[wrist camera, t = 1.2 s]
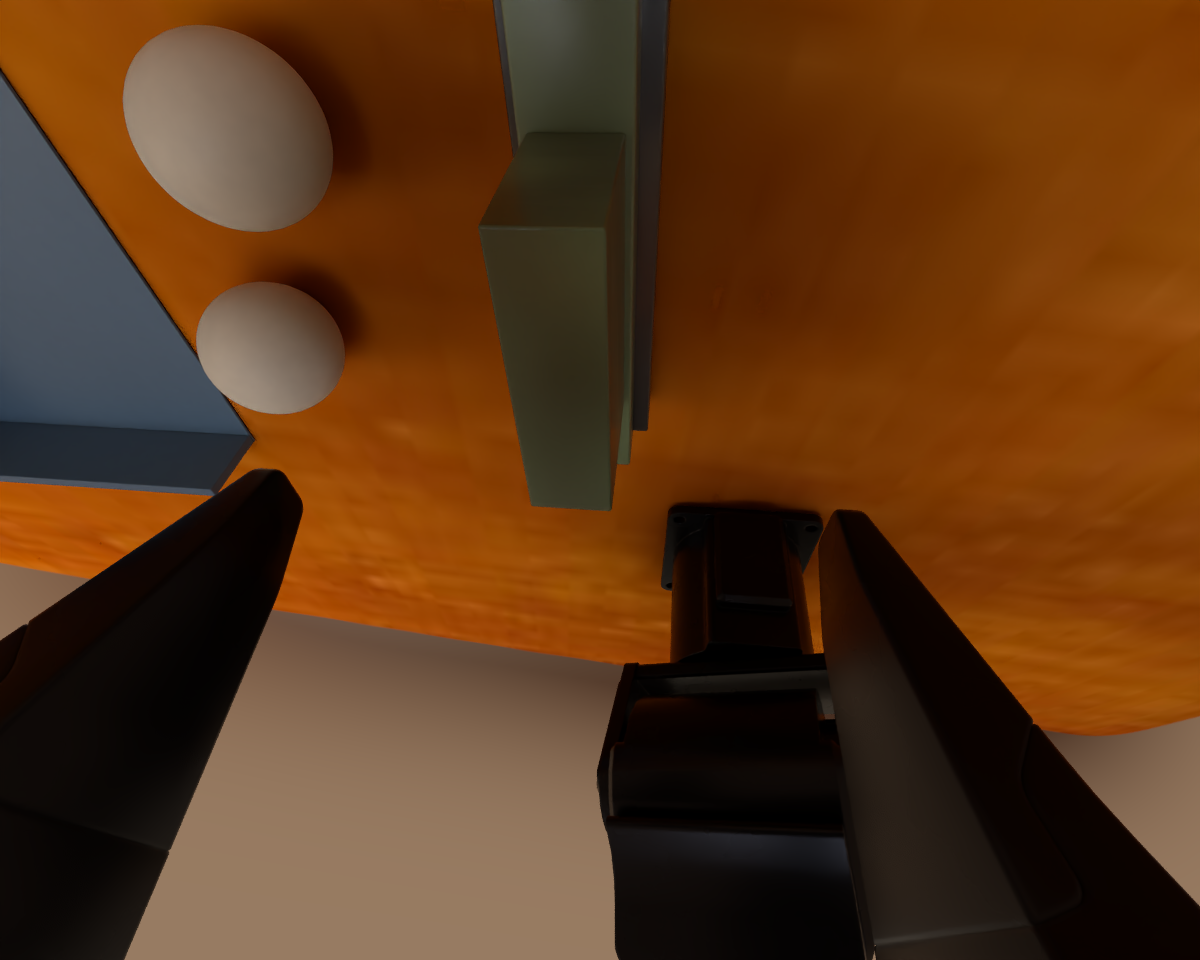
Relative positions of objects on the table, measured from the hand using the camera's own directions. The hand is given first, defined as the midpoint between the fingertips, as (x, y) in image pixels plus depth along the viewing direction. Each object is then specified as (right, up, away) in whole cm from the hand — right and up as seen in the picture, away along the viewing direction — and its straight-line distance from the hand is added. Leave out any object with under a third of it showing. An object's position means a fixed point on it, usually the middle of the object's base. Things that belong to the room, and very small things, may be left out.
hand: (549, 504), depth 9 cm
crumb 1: (-7, +10, +5) cm, 13 cm away
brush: (+1, +7, +7) cm, 10 cm away
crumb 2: (-9, +6, +10) cm, 15 cm away
